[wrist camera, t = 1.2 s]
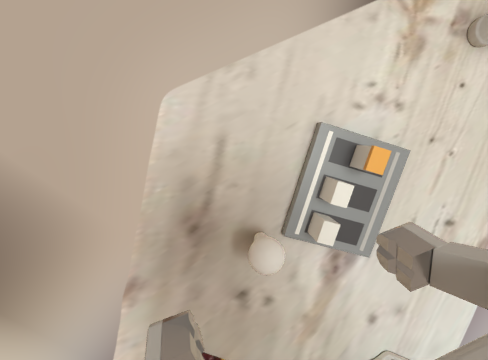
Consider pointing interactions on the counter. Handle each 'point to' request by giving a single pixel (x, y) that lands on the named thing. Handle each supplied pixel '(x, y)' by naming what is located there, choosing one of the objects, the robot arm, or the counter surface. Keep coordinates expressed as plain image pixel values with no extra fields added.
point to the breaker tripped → (370, 158)
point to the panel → (346, 176)
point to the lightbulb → (266, 254)
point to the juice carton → (210, 357)
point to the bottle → (479, 32)
